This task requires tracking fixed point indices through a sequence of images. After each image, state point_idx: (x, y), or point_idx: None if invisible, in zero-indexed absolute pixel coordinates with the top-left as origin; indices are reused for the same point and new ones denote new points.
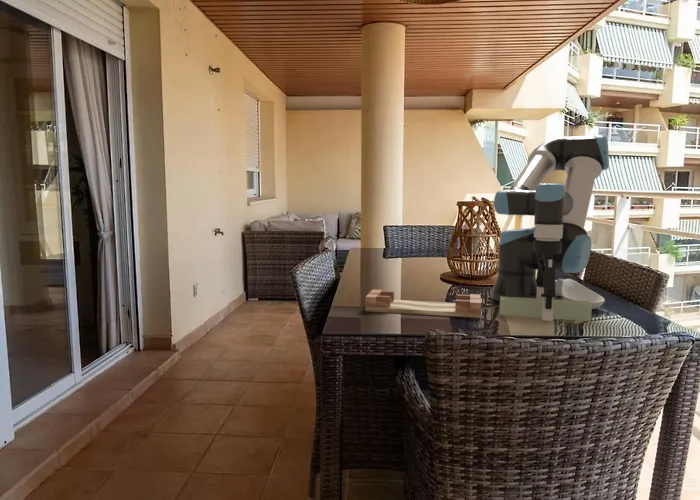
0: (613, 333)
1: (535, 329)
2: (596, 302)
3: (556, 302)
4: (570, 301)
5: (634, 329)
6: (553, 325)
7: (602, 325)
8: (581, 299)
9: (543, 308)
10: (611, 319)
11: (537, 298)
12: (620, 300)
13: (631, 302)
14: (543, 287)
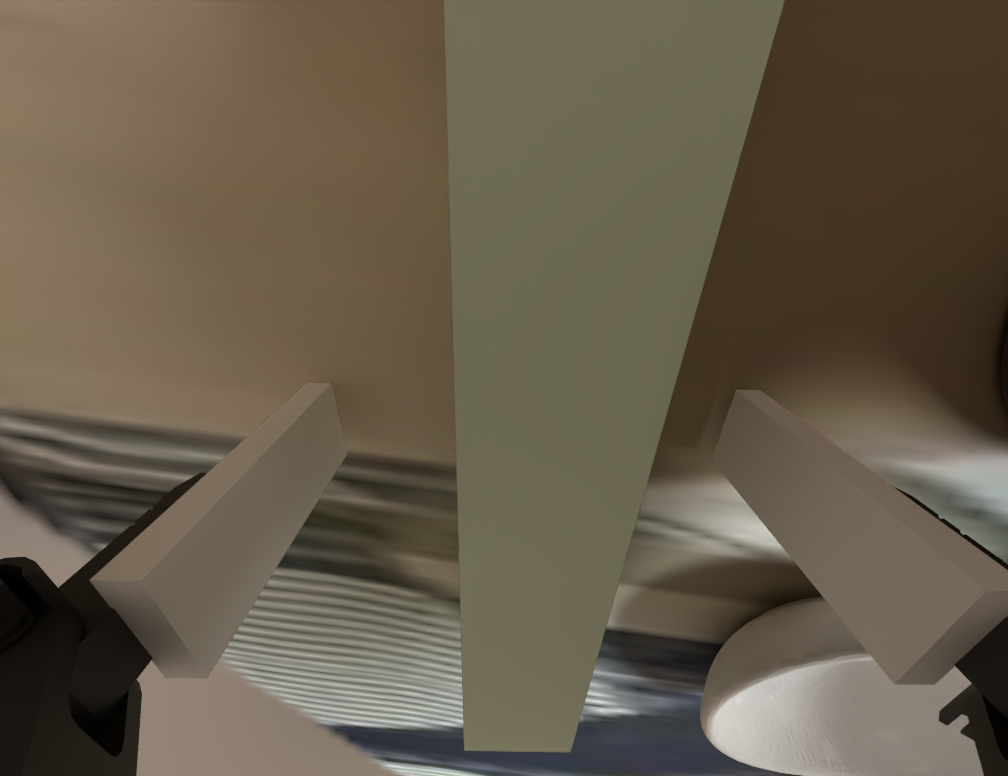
0: (252, 650)
1: (28, 288)
2: (707, 735)
3: (462, 598)
4: (533, 680)
5: (371, 709)
6: None
7: (394, 643)
8: None
9: (242, 453)
10: None
11: (645, 464)
12: None
13: None
14: (940, 656)
